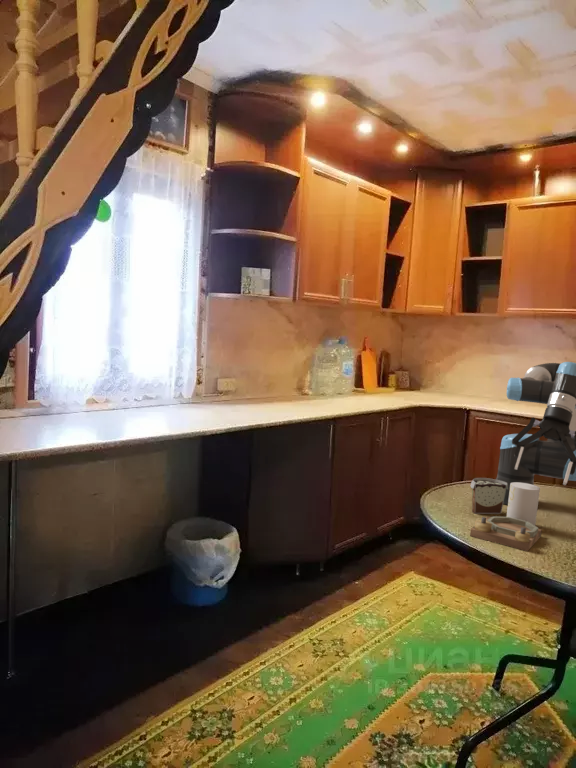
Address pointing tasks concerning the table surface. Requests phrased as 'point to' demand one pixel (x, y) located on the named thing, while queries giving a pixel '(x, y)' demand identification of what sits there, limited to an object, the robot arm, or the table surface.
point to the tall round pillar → (523, 501)
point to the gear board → (507, 531)
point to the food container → (488, 495)
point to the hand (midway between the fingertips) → (540, 476)
